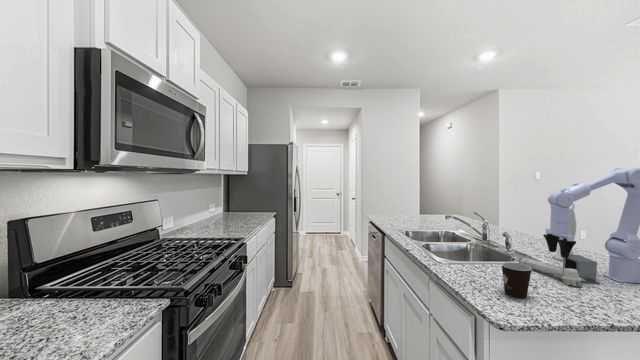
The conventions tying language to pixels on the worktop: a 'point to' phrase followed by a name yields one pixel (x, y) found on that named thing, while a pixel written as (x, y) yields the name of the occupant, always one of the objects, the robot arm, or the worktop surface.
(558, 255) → the skyscraper
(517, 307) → the worktop surface
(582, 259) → the bracket sleeve
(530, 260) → the light grey piece
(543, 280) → the worktop surface
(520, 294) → the coffee mug
